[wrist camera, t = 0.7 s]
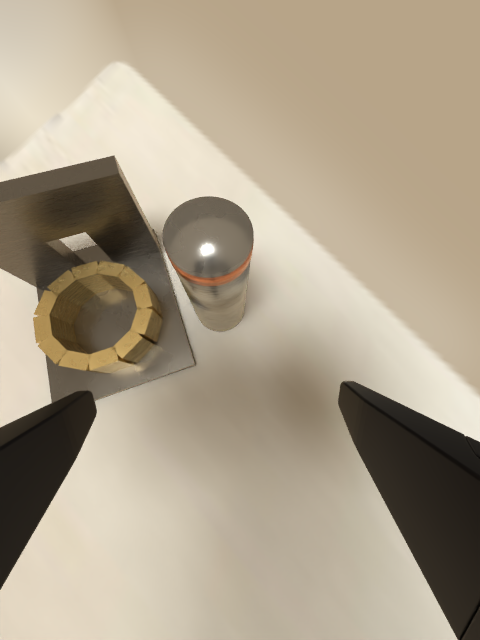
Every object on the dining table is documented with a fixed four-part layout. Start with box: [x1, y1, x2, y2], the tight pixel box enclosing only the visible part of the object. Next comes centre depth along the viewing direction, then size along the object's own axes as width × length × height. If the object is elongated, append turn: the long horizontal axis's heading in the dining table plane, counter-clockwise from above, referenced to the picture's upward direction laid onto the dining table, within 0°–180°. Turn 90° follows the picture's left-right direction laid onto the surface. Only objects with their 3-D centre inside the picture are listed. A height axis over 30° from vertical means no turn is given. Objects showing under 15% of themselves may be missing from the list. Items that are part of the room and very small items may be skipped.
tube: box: [163, 197, 254, 332], centre depth 18 cm, size 5×5×12 cm
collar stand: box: [0, 156, 196, 403], centre depth 18 cm, size 15×12×10 cm
